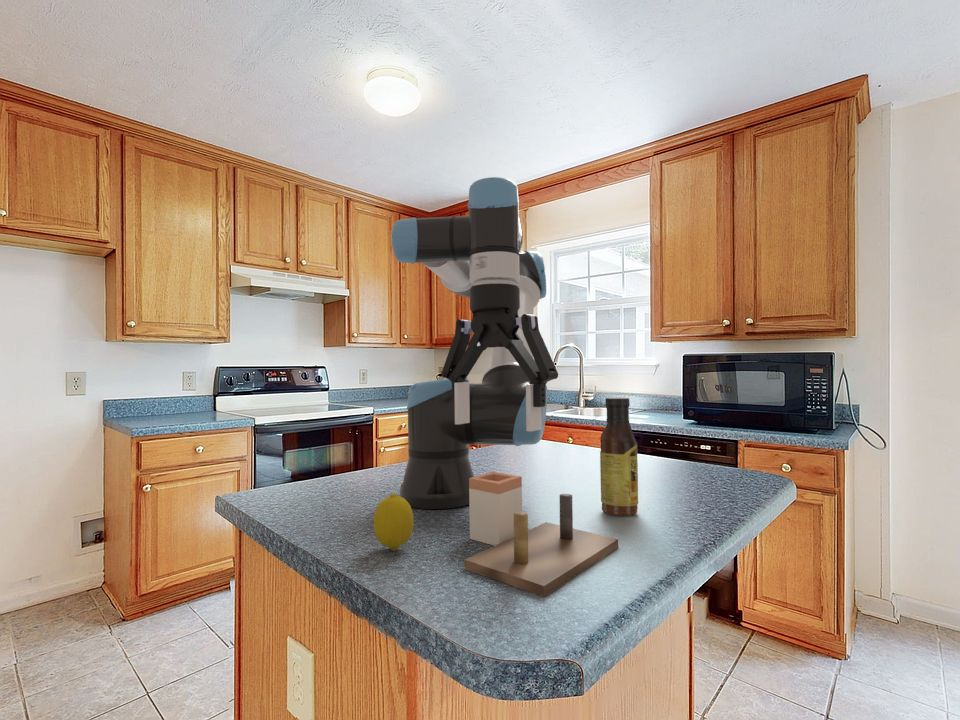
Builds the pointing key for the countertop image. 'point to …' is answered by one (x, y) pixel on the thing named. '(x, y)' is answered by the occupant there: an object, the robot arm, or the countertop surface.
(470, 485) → the sleeve
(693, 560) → the countertop surface
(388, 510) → the lemon
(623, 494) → the sauce bottle
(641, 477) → the countertop surface
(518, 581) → the pin board
